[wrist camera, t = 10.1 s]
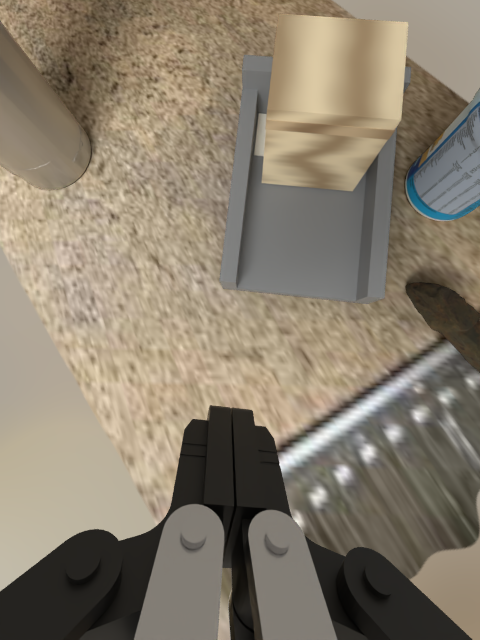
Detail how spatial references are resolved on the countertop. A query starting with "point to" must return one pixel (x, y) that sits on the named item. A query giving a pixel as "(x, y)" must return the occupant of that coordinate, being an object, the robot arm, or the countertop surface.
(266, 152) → the wooden cube box
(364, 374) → the countertop surface
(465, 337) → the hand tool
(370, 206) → the bay
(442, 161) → the beverage bottle
